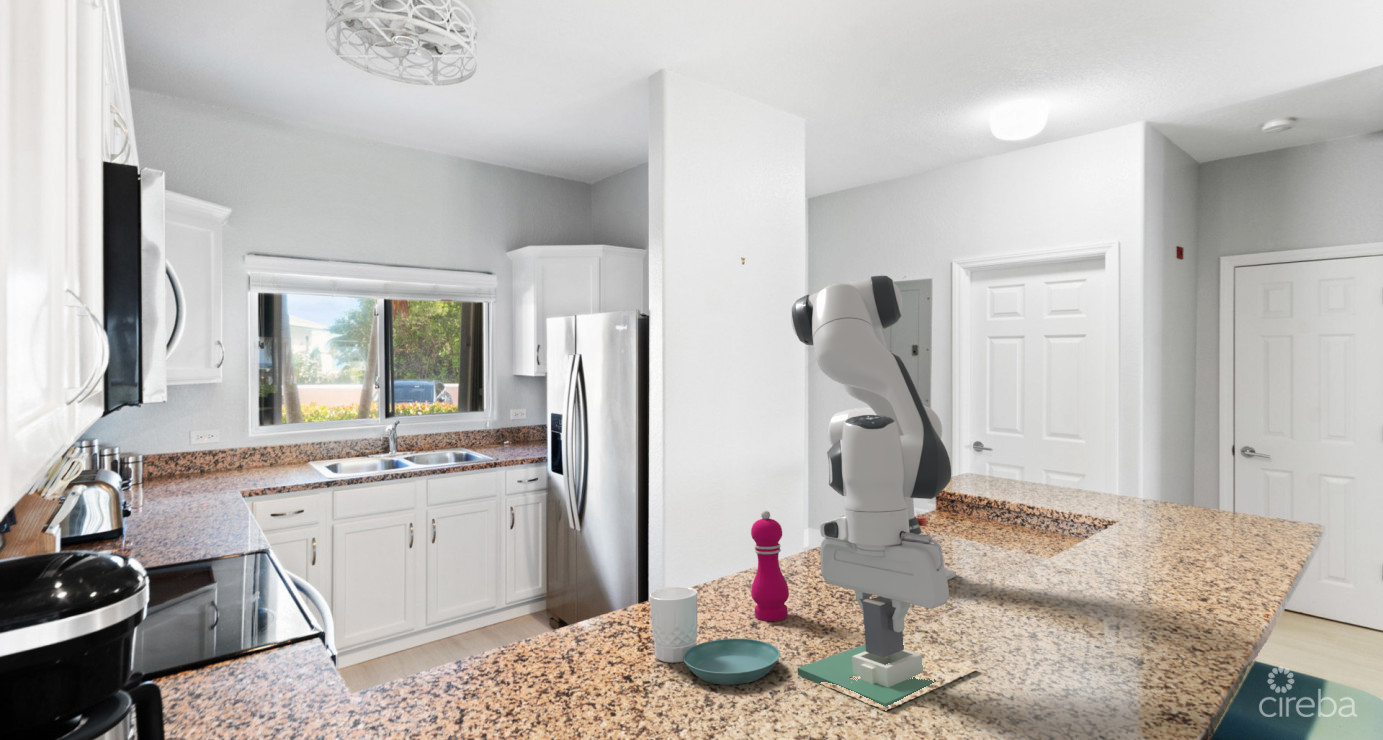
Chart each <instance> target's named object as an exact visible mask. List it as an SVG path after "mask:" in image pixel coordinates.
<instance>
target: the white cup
mask: <svg viewBox="0 0 1383 740" xmlns="http://www.w3.org/2000/svg"><path fill="white" fill-rule="evenodd" d="M649 605H650V618H651V627H652V628H651V629H652V637H653V641H654V655H655V658H656V659H657V660H658V661H660V662H663V663H673V664H674V663H685V662H684V660H683V656H684V654H685V652H686V651H687V650H689V649H690V648H692V647H694V646H696V645H698V643H697V642H698V641H697V638H698V624H699V623H698V590H697V589H695V588H693V587H687V586H671V587H663V588H658V589H655V590H653V591H651V592H650V593H649Z"/></svg>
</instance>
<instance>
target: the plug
mask: <svg viewBox="0 0 1383 740" xmlns="http://www.w3.org/2000/svg"><path fill="white" fill-rule="evenodd" d="M895 609H896V607H893V606H892V599H888V598H884V597H880V596H877V597H873V598H870V599H865V600H863V611H862V615H863V614H864V621H863V625H864V627H863V628H864V629H863V630H864V643H865V645H866V652H868V653H871V654H874V655H877V656H880V657H886V656H889V655H891V654H894V653H897V652H900V651H902V650H904V645H903V642H904V633H903V631H904V630H903V631H901V632H895V631H892V630H889V629H888V625H889V624H888V619H887V618H888V617H892V616H893V615H894V612H895Z"/></svg>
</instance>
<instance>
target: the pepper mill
mask: <svg viewBox="0 0 1383 740" xmlns="http://www.w3.org/2000/svg"><path fill="white" fill-rule="evenodd" d="M760 516H761V518H760V519H757V520H756V521H754V523H753V524H752V526H751V529H750V534H751V538H752V539H753V541H754V542H755V544H754V546H753V547H754V552H755V553H756V556H757V571H756V573H755V576H754V579H753V582H752V585H751V591H750V592H751V593H750V594H751V595H750V596H751V598H752V600H753V601H754V602H755V604H756V605H755V606H754V617H755V618H756V619H757V620H760V621H765V622H777V621H782V620H786V619H787V617H789V616H788V615H789V614H788V613H789V611H788V606H787V605H786V604H785V603H787V601H788V599H789V597H790V590H789V585H788V583H787V580H786V579H785V577H784V575H783V572H782V571H781V567H780V562H779V554H780V552H781V544H780V540H781V539H782V537H783V530H782V529H783V528H782V526H781V524H780V523H779V522H778V521H777V520H775V519H773V518H771V513H770V511H768V510H763V511H761V513H760Z"/></svg>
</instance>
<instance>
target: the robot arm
mask: <svg viewBox="0 0 1383 740" xmlns="http://www.w3.org/2000/svg"><path fill="white" fill-rule="evenodd" d="M903 302H904V301H903V295H902V293H901V290H900V288H899V287H898V285H897V284H896V283H895V282H894V281H893V278H891V277H889V276H887V275H874V276H870V277H869V278H865V279H863V278H861V279H857V280H852V281H851V280H850V281H847V282H838V283H837V282H836V283H832V284H829V285H827V286H825V287H824V288H822V289H821V290H820V291H817V292H815V293H811V295H810V294H806V295H804V296H802V297H800V298H797V299H796V300H795V302H794V303H793V305H792V307H791V314H790V322H791V326H792V330H793V332H794V334H795V335H796V337H797V338H798V340H799V341H800V342H801V343H803V344H804V345H807V346H813V351H814V356H815V359H816V363H817V364H818V367H819V369H820V370H821V372H823V374H824V375H826V376H827V377H828V378H829V379H831V380H833V381H835V382H837V383H839V384H841V385H843V388H844V390H845V391H846V393H848V395H849V396H850V397H852V398H854V399H855V400H858V401H860V402H862V403H864V404H866V405H867V406H868V407H854V408H849V409H846V410H842V411H837V412H836V413H834V414H833V415H832V417H831V419H830V420H829V423H828V427H827V436H828V440H829V442H830V444H831V447H830V448H829V449H828V451H827V452H826V454H827V459H828V468H829V473H828V474H829V475H828V476H829V478H828V479H829V480H828V485H829V487H831V488H832V489H833V490H834V491H835V492H836V493H838V494H839V495H841V496H842V497H845V501H844V507H843V508H844V515H841V516H839V517H836V518H832V519H830V520H827V521H823V522H821V523H820V524H819V533H820V535H821V537H823V538H822V541H821V542H820V554H819V557H820V573H821V576H822V578H823V580H824V581H825V583H826V584H827V585H831V586H835V587H839V588H844V589H848V590H851V591H854V596H855V600H856V602H857V603H858V606H859V607H860V609H861V611H862V612H863V600H865V599H871V597H872V596H877V597H884V598H888V599H892V606H893V607H896V609H895V612H894V615H893V616H892V617H888V618H887V619H888V624H889V625H888V629H889V630H892V631H895V632H901V631H904V630H905V617H906V616H907V614H908V612H909V609H910V608H911V605H913V606H917V607H923V608H926V609H931V610H932V609H936V608H939V607H942V606H945V605H946V603H947V602H948V601H949V599H950V591H949V583H948V581H949V580H951V579H953V578H955V577H957V573H956V571H955V570H954V569H950V568H947V567H945V562H944V561H945V560H944V555H943V549H942V545H940V544H939V542H938V541H936V540H935V539H933V536H931V535H928V534H923V533H922V529H921V527H927V526H928V524H929V520H928V519H927V517H925V516H923V517H921V516H917V517H916V516H915V504H914V503H915V502H914V499H922V500H923V499H924V500H927V499H929V500H932V499H934V498H936V497H937V496H939V494H940V493H942V492H943V491H944V490H945V489H946V487H947V486H948V485H949V484H950V482H951V478H952V465H951V460H950V457H949V454H948V451H947V448H946V446H945V444H944V442H943V441H942V435H943V426H942V425H943V424H942V421H941V420H940V418H939V416H938V414H937V413H936V411H934V410H933V409H932V408H931V407H928V406H926V405H924V403H923V401H922V400H921V397H920V394H919V392H918V390H917V388H916V386H915V384H914V381H913V380H912V377H911V374H910V373H909V371H908V369H907V367H906V365H905V364H904V362H903V361H902V359H901V357H900V356H898V355H897V354H895V353H893V352H891V351H889V348H888V346H887V343H886V340H885V336H884V333H883V330H882V329H884V330H885V329H887V328H889V327H891V326H893V325H895V324H897V322H899V320H900V318H901V317H902V311H903ZM862 619H863V622H864V614H863V613H862Z"/></svg>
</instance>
